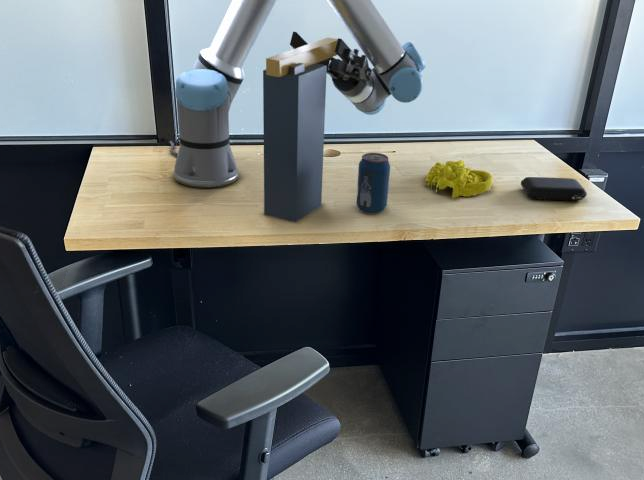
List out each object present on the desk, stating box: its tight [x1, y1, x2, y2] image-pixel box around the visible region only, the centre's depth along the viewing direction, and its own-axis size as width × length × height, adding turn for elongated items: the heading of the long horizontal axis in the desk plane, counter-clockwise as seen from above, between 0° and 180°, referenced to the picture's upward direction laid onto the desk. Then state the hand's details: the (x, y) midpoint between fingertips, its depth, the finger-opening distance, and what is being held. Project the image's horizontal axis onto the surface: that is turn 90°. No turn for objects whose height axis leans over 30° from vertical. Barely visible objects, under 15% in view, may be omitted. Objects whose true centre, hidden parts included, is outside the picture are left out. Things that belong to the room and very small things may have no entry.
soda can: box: [355, 152, 391, 215], centre depth 165 cm, size 7×7×12 cm
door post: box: [262, 63, 327, 223], centre depth 157 cm, size 12×8×32 cm, turn 154°
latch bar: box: [265, 37, 338, 77], centre depth 151 cm, size 26×3×3 cm, turn 154°
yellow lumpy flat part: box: [424, 159, 493, 199], centre depth 183 cm, size 17×16×4 cm
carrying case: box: [520, 176, 588, 201], centre depth 180 cm, size 11×3×15 cm
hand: (315, 41), depth 153 cm, fingers open, 10 cm apart
